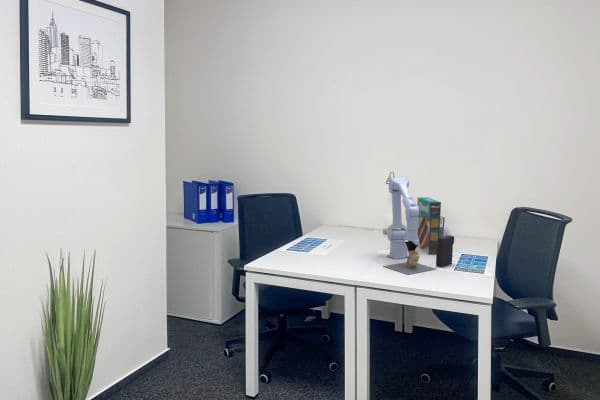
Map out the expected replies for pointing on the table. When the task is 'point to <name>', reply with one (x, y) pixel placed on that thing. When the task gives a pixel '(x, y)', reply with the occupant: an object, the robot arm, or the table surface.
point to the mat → (406, 270)
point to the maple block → (412, 259)
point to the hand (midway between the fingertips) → (411, 255)
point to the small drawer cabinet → (444, 250)
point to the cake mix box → (428, 224)
